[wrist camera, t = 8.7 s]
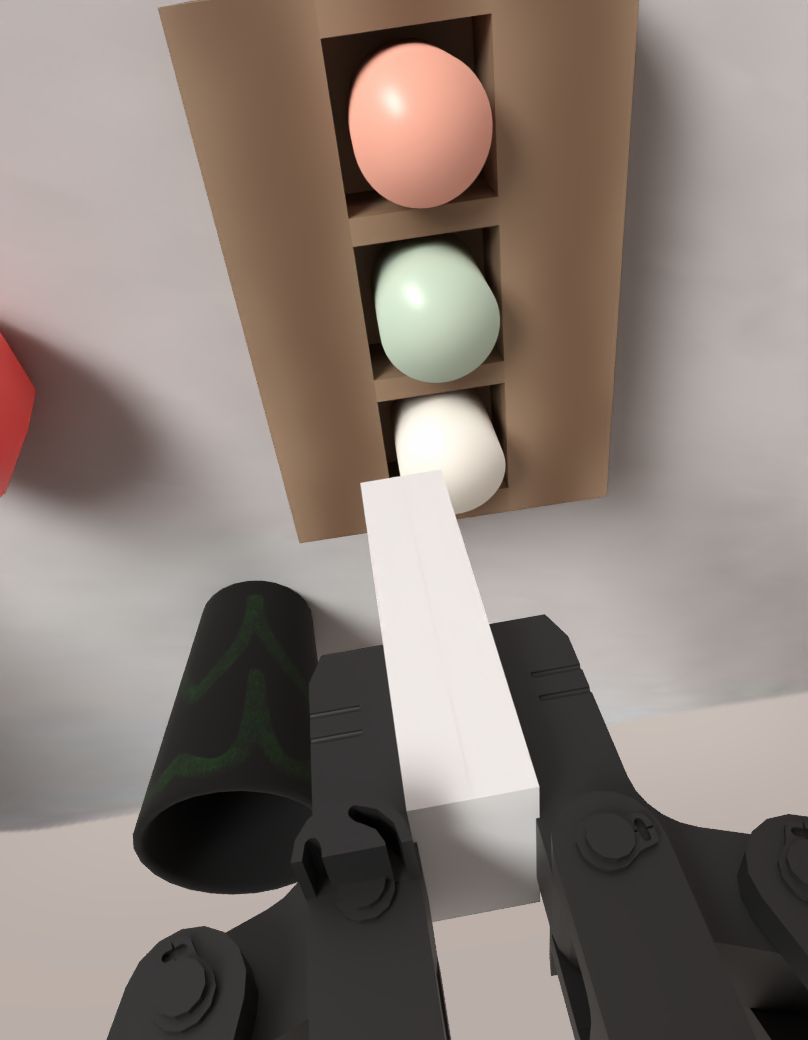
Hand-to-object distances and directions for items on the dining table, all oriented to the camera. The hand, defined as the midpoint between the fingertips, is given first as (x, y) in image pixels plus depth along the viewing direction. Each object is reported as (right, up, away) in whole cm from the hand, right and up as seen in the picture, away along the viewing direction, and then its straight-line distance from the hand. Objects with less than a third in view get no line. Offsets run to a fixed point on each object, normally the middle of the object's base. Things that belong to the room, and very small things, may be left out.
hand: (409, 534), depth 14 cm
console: (0, +10, +13) cm, 16 cm away
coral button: (0, +12, +8) cm, 15 cm away
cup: (-8, -5, +23) cm, 25 cm away
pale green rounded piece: (+1, +8, +11) cm, 14 cm away
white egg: (+1, +4, +14) cm, 15 cm away
